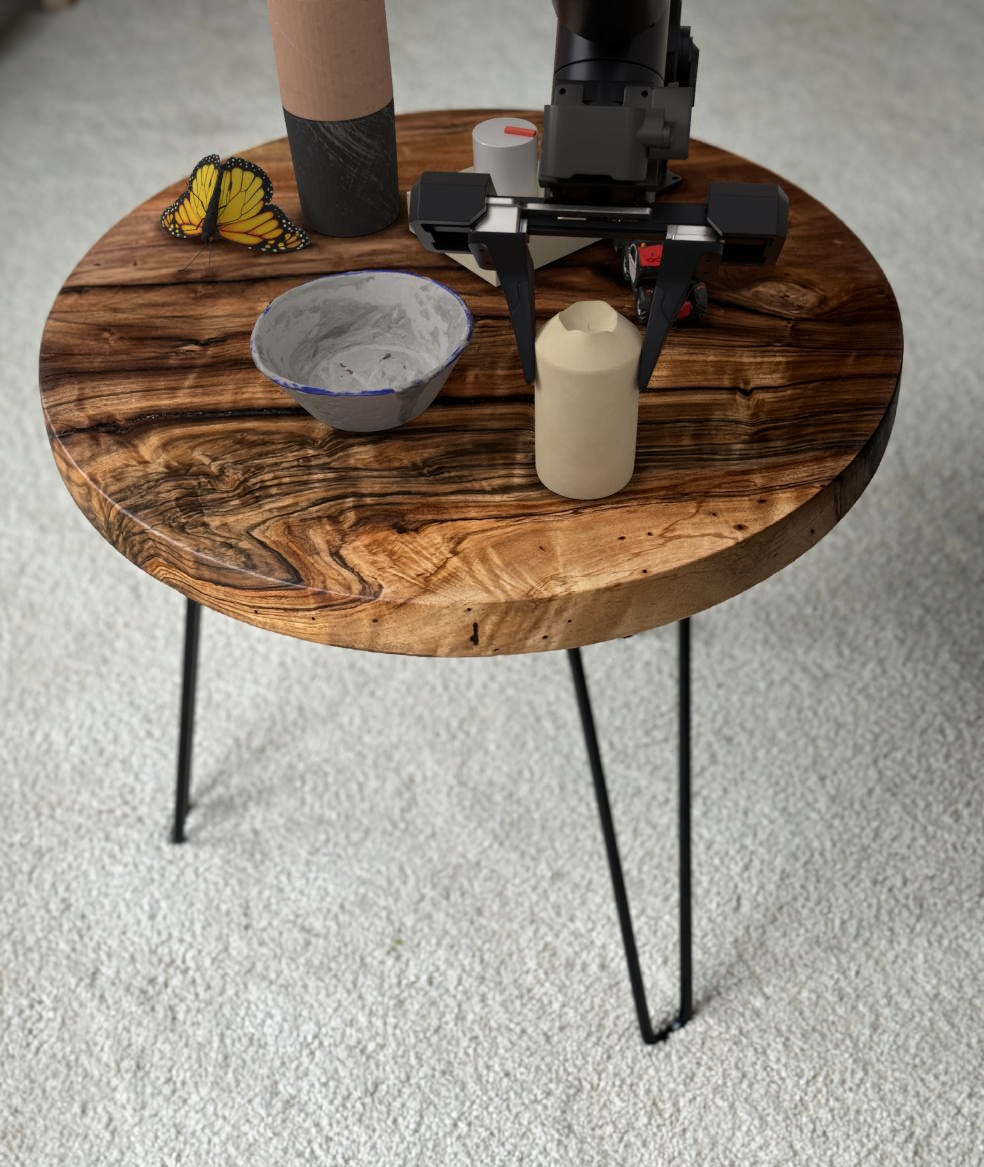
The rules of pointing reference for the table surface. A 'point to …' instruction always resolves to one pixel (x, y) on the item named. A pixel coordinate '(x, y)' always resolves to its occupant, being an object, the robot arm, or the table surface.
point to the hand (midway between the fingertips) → (584, 387)
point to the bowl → (363, 346)
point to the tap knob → (507, 155)
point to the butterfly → (232, 208)
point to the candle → (586, 400)
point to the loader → (652, 278)
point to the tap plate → (539, 246)
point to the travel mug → (338, 111)
